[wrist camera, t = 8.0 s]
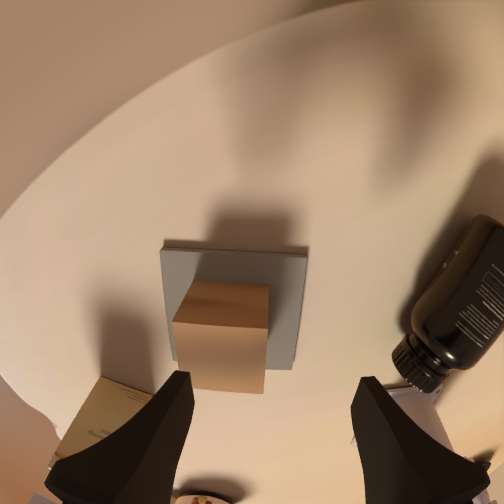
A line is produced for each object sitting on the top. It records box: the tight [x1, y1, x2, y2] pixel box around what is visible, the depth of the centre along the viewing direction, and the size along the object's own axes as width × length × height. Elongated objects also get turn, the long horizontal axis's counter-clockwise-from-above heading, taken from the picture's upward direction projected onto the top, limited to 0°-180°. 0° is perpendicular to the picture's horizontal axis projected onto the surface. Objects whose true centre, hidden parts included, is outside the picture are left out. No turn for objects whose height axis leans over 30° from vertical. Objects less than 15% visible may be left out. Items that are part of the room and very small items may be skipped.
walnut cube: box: [172, 280, 269, 394], centre depth 18 cm, size 5×5×5 cm
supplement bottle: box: [392, 214, 504, 394], centre depth 16 cm, size 7×7×12 cm
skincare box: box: [48, 377, 153, 470], centre depth 20 cm, size 6×4×12 cm
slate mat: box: [160, 247, 307, 370], centre depth 21 cm, size 10×10×1 cm
